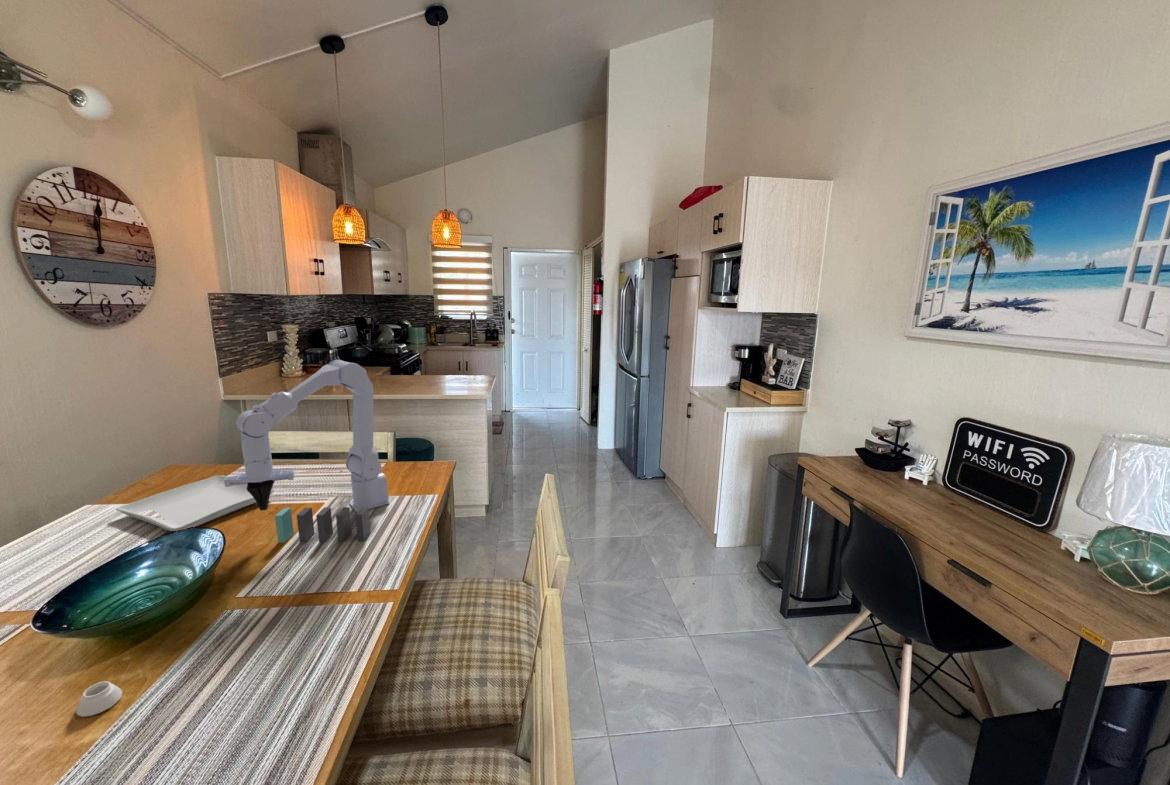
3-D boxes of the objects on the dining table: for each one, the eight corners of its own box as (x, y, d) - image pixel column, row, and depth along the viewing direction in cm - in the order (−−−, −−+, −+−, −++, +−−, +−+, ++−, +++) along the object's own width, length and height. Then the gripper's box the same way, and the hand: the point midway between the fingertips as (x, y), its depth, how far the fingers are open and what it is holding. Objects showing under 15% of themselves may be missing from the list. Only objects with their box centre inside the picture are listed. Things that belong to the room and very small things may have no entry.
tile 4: (314, 533, 126) (311, 507, 125) (306, 542, 122) (303, 515, 120) (308, 533, 126) (305, 507, 124) (299, 542, 122) (296, 515, 120)
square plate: (115, 520, 132) (113, 507, 131) (221, 484, 156) (220, 473, 156) (175, 541, 122) (172, 527, 121) (278, 499, 146) (276, 487, 146)
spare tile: (293, 533, 126) (290, 507, 124) (284, 542, 121) (281, 515, 120) (287, 534, 126) (284, 507, 124) (278, 542, 121) (274, 515, 120)
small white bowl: (130, 689, 77) (93, 694, 76) (127, 673, 77) (89, 678, 76) (107, 715, 72) (67, 721, 71) (104, 699, 72) (63, 705, 71)
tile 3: (333, 533, 126) (330, 507, 125) (325, 541, 122) (322, 515, 121) (327, 533, 126) (324, 507, 125) (319, 542, 122) (316, 515, 120)
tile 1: (370, 532, 127) (368, 506, 126) (363, 541, 123) (361, 514, 121) (364, 532, 127) (361, 507, 125) (357, 541, 123) (355, 514, 121)
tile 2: (351, 533, 127) (349, 507, 125) (344, 541, 123) (342, 514, 121) (345, 533, 127) (343, 507, 125) (338, 541, 122) (335, 514, 121)
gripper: (294, 450, 125) (299, 498, 128) (227, 456, 119) (234, 506, 122) (289, 459, 118) (294, 509, 121) (218, 465, 113) (226, 518, 116)
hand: (264, 508), depth 121 cm, fingers closed
